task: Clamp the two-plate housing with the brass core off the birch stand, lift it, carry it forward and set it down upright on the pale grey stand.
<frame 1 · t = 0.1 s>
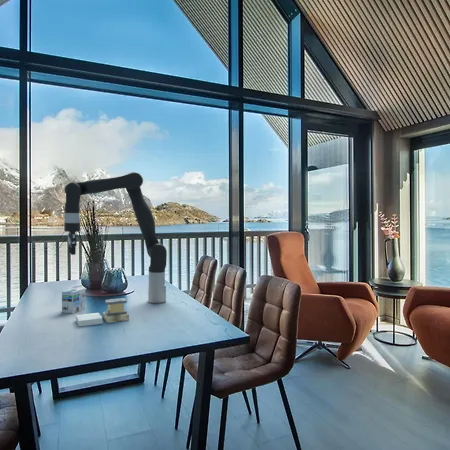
hand: (72, 253, 180), 29 cm above the table, fingers open, 8 cm apart
light bulb box: (73, 310, 182), on the table
housing: (115, 313, 169), point 2 cm above the table, touching stand A
stand A: (115, 318, 169), on the table
stand B: (89, 321, 163), on the table
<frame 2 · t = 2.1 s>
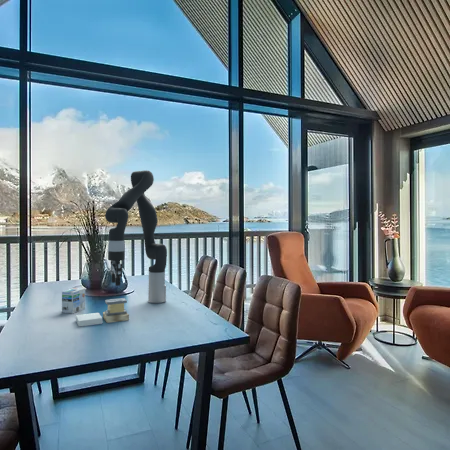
hand: (115, 284, 168), 17 cm above the table, fingers open, 8 cm apart
nothing on the table moved.
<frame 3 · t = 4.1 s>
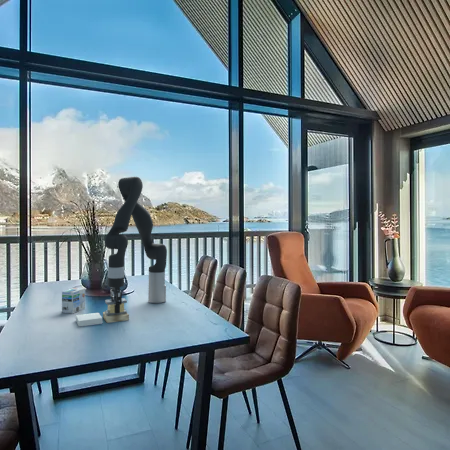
hand: (115, 311, 169), 3 cm above the table, fingers closed on housing, 5 cm apart
housing: (115, 313, 169), point 2 cm above the table, touching gripper, stand A
everything else where it was.
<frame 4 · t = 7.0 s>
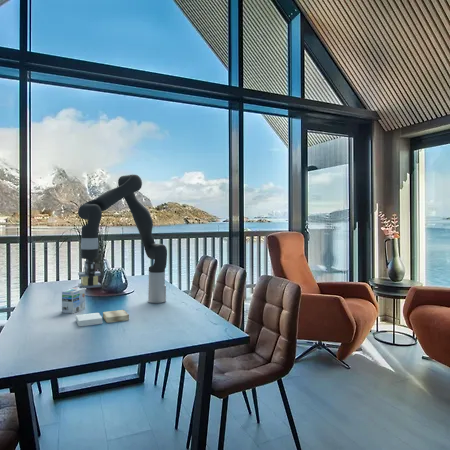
hand: (89, 284, 162), 17 cm above the table, fingers closed on housing, 5 cm apart
housing: (89, 286, 162), point 16 cm above the table, touching gripper
everything else where it was.
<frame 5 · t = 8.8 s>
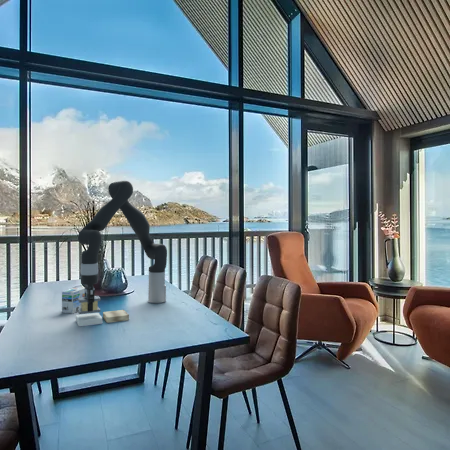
hand: (89, 309, 163), 6 cm above the table, fingers closed on housing, 5 cm apart
housing: (89, 311, 163), point 5 cm above the table, touching gripper
everything else where it was.
when the fingers open (5 cm above the table, at t = 10.0 s): housing drops 1 cm, resting on stand B.
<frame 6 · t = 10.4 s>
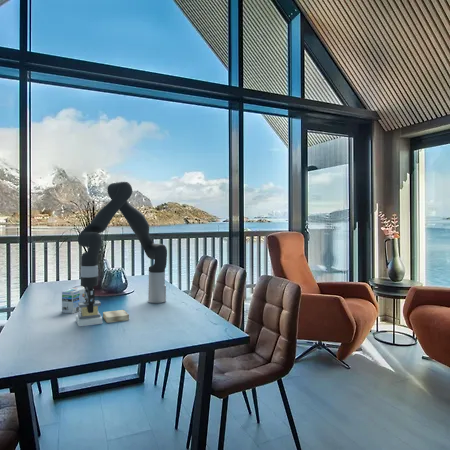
hand: (89, 310, 163), 5 cm above the table, fingers open, 8 cm apart
housing: (89, 316, 163), point 2 cm above the table, touching stand B
everything else where it was.
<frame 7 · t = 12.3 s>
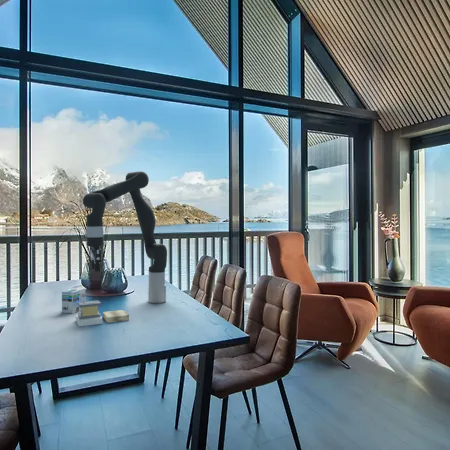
hand: (95, 270, 167), 23 cm above the table, fingers open, 8 cm apart
nothing on the table moved.
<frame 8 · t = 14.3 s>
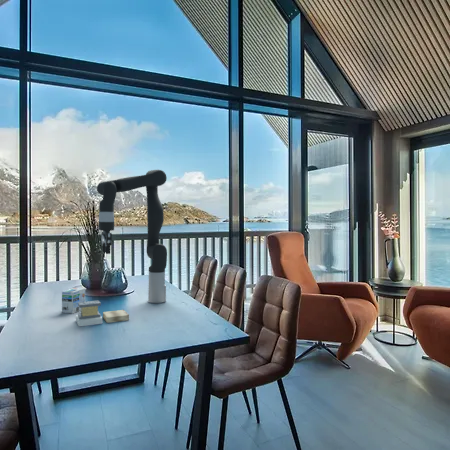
hand: (106, 252, 179), 30 cm above the table, fingers open, 8 cm apart
nothing on the table moved.
at the end: housing inside the target area on the stand B (0.1 cm from its centre), point 2.5 cm above the stand B's base; housing tilted 0°; the gripper is holding nothing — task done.
